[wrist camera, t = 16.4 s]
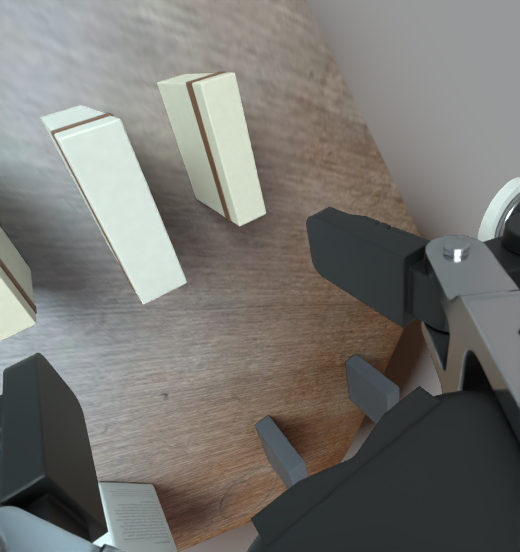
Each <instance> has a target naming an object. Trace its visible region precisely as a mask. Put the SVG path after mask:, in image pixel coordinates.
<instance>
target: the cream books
mask: <svg viewBox="0 0 520 552" xmlns="http://www.w3.org/2000/svg"><path fill="white" fill-rule="evenodd" d="M157 84H158V87H159V90H160V93H161V96H162V99H163V102H164V105H165V108H166V111H167V114H168V117H169V120H170V123H171V126H172V129H173V132H174V135H175V138H176V141H177V144H178V147H179V150H180V153H181V156H182V159H183V162H184V164H185V167H186V170H187V173H188V176H189V179H190V182H191V185H192V188H193V191H194V194H195V197H196V199H198V200H199V201H201V202H202V203H204V204H205V205H207V206H209V207H210V208H212V209H213V210H215V211H216V212H218V213H219V214H221V215H223V216H224V217H225V218H226V219H227V220H228V221H230V222H234V223H235V224H237V225H238V226H242V225H244V224H246V223H248V222H250V221H252V220H254V219H256V218H259V217H261V216H263V215H265V214H266V210H265V205H264V201H263V196H262V192H261V188H260V183H259V179H258V174H257V170H256V165H255V161H254V156H253V152H252V147H251V143H250V138H249V134H248V129H247V125H246V120H245V116H244V111H243V107H242V102H241V98H240V93H239V89H238V84H237V80H236V76H235V73H226V72H217V73H205V74H183V75H180V76H177V77H173V78H170V79H167V80H164V81H160V82H158V83H157ZM36 313H37V311H36V306H35V305H34V296H33V287H32V278H31V269H30V268H29V266H28V265H27V264H26V262H25V261H24V259H23V258H22V256H21V255H20V254H19V252H18V251H17V249H16V248H15V246H14V245H13V244H12V242H11V241H10V239H9V238H8V236H7V235H6V234H5V232H4V231H3V229H2V228H1V226H0V341H2V340H4V339H6V338H8V337H10V336H13V335H15V334H17V333H19V332H21V331H23V330H25V329H27V328H29V327H31V326H33V325H36V324H37V323H36Z"/></svg>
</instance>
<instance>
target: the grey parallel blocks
mask: <svg viewBox="0 0 520 552" xmlns="http://www.w3.org/2000/svg"><path fill="white" fill-rule="evenodd" d="M345 363H346V372H347V380H348V389H349V398H350V400H351V401H352V402H353V403H354V404H355V405H357V406H358V407H359V408H360V409H361V410H362V411H363V412H364V413H365V414H366V415H367V416H368V417H370V419H371V420H373V421H374V422H375V423H376V424H377V423H378V422H379V420H380V419H381V417H382V416H383V414H384V413H386V412H387V411H388V410H389V409H391V408H392V407H393V406H395V405H396V404H397V403H398V402H399V387H398V386H396V385H395V384H394V383H393V382H391V381H390V380H389V379H388V378H386V377H385V376H384V375H383V374H381V373H380V372H379V371H377V370H376V369H375V368H374V367H372V366H371V365H370V364H369V363H367V362H366V361H365V360H364V359H362V358H361V357H360V356H358V355H357V354H356V355H354V356H353V357H352V358H350V359H349V360H347V361H346V362H345ZM255 427H256V430H257V432H258V435H259V437H260V440H261V443H262V445H263V448H264V450H265V453H266V456H267V458H268V460H269V462H270V463H271V465H272V466H273V468H274V469H275V471H276V472H277V474H278V475H279V477H280V478H281V480H282V481H283V483H284V484H285V485H286V487H287V488H288V489H289V488H290V487H292V486H293V485H294V484H295V483H297V482H298V481H300V480H302V479H305V478H307V477H308V474H307V470H306V467H305V463H304V460H303V459H302V458H301V457H300V455H299V454H298V453H297V451H296V450H295V449H294V447H293V446H292V445H291V444H290V442H289V441H288V440H287V438H286V437H285V436H284V435H283V433H282V432H281V431H280V429H279V428H278V427H277V425H276V424H275V423H274V422H273V420H272V419H271V418H270V416H269V415H268V416H267V417H265V418H264V419H263V420H261V421H260V422H258V423H257V424H255Z"/></svg>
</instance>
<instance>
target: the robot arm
mask: <svg viewBox="0 0 520 552" xmlns="http://www.w3.org/2000/svg"><path fill="white" fill-rule="evenodd" d="M306 225H307V232H308V238H309V245H310V251H311V257H312V262H313V265H314V267H315V269H316V270H317V272H318V273H319V274H320V275H321V276H322V277H324V278H325V279H327V280H328V281H330V282H331V283H333V284H335V285H336V286H338V287H339V288H341V289H343V290H344V291H346V292H347V293H349V294H350V295H352V296H354V297H355V298H357V299H358V300H360V301H361V302H363V303H365V304H366V305H368V306H369V307H371V308H373V309H374V310H376V311H377V312H379V313H380V314H382V315H384V316H385V317H387V318H388V319H390V320H392V321H393V322H395V323H396V324H398V325H399V326H401V327H403V328H404V327H405V326H406V325H408V324H409V323H411V322H412V321H414V320H415V319H416V318H418V319H420V320H421V321H422V328H421V329H422V332H423V335H424V338H425V341H426V344H427V346H428V349H429V352H430V355H431V358H432V360H433V363H434V366H435V369H436V371H437V374H438V377H439V380H440V383H441V388H442V394H441V395H437V396H434V397H433V396H432V395H431V394H429V393H428V392H427V391H425V390H424V389H422V388H421V387H420V386H419V387H417V388H416V389H415V390H414V391H412V392H411V393H410V394H409V395H407V396H406V397H405V398H403V399H402V400H401V401H400V402H398V403H397V404H396V405H395V406H393V407H392V408H391V409H389V410H388V411H387V412H386V413H384V414H383V416H382V417H381V419H380V420H379V422H378V423H377V424H376V426H375V427H374V429H373V430H372V432H371V433H370V435H369V436H368V438H367V439H366V441H365V442H364V443H363V445H362V446H361V448H360V449H359V451H358V452H357V454H356V455H355V456H354V457H352V458H351V459H349V460H347V461H345V462H342V463H340V464H337V465H335V466H333V467H330V468H328V469H326V470H323V471H321V472H319V473H316V474H314V475H312V476H309V477H307V478H305V479H302V480H300V481H298V482H297V483H295V484H294V485H293V486H292V487H290V488H289V489H288V490H287V491H285V492H284V493H283V494H281V495H280V496H279V497H278V498H276V499H275V500H274V501H273V502H271V503H270V504H269V505H267V506H266V507H265V508H264V509H262V510H261V511H260V512H259V513H257V514H256V515H255V516H254V517H252V518H251V520H252V522H253V524H254V526H255V527H256V529H257V531H258V533H259V535H258V536H257V537H256V539H255V540H254V542H253V543H252V544H251V546H250V547H249V549H248V551H247V552H520V193H518V194H517V195H516V196H515V197H514V198H513V199H512V200H511V202H510V203H509V204H508V206H507V207H506V209H505V210H504V212H503V214H502V216H501V218H500V220H499V222H498V225H497V228H496V231H495V236H494V239H490V240H487V241H484V242H482V241H480V240H478V239H475V238H473V237H469V236H463V235H447V236H442V237H438V238H436V239H434V240H432V241H429V240H426V239H424V238H421V237H419V236H416V235H414V234H411V233H408V232H406V231H403V230H400V229H398V228H395V227H392V228H391V226H390V225H387V224H385V223H380V222H379V221H377V220H374V219H372V218H369V217H367V216H360V215H351V214H347V213H344V212H342V211H339V210H337V209H334V208H331V207H328V208H326V209H324V210H322V211H320V212H318V213H316V214H314V215H312V216H310V217H309V218H308V219H307V222H306ZM107 532H108V528H107V523H106V518H105V513H104V509H103V504H102V499H101V494H100V490H99V485H98V480H97V476H96V471H95V466H94V461H93V457H92V452H91V447H90V443H89V438H88V433H87V428H86V424H85V419H84V414H83V411H82V408H81V406H80V404H79V402H78V400H77V398H76V396H75V395H74V393H73V392H72V390H71V389H70V388H69V387H68V385H67V384H66V383H65V382H64V381H63V379H62V378H61V377H60V376H59V374H58V373H57V372H56V371H55V369H54V368H53V367H52V366H51V364H50V363H49V362H48V361H47V359H46V358H45V357H44V356H43V355H42V354H40V353H36V354H34V355H32V356H30V357H28V358H26V359H24V360H22V361H20V362H18V363H16V364H14V365H12V366H10V367H8V368H6V369H5V370H4V373H3V394H2V395H0V552H125V551H123V550H121V549H118V548H116V547H114V546H111V545H108V544H103V546H102V547H100V546H97V545H95V544H93V542H95V541H96V540H97V539H99V538H100V537H102V536H103V535H105V534H106V533H107Z"/></svg>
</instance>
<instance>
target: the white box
mask: <svg viewBox="0 0 520 552" xmlns="http://www.w3.org/2000/svg"><path fill="white" fill-rule="evenodd" d="M41 120H42V122H43V124H44V126H45V128H46V129H47V131H48V133H49V135H50V137H51V139H52V141H53V143H54V145H55V147H56V148H57V150H58V152H59V154H60V156H61V158H62V160H63V162H64V164H65V166H66V167H67V169H68V171H69V173H70V175H71V177H72V179H73V181H74V183H75V185H76V186H77V188H78V190H79V192H80V194H81V196H82V198H83V200H84V202H85V203H86V205H87V207H88V209H89V211H90V213H91V215H92V217H93V219H94V221H95V222H96V224H97V226H98V228H99V230H100V232H101V234H102V236H103V238H104V239H105V241H106V243H107V244H108V246H109V248H110V249H111V251H112V253H113V255H114V256H115V258H116V260H117V261H118V263H119V265H120V266H121V268H122V270H123V272H124V274H125V276H126V278H127V280H128V281H129V283H130V285H131V287H132V289H133V290H134V291H135V292H136V293H137V295H138V297H139V298H140V300H141V302H142V303H143V304H147V303H149V302H150V301H152V300H154V299H156V298H158V297H160V296H162V295H164V294H166V293H168V292H170V291H172V290H174V289H176V288H178V287H180V286H182V285H184V284H186V283H187V280H186V277H185V275H184V272H183V270H182V268H181V265H180V263H179V260H178V258H177V255H176V253H175V250H174V248H173V245H172V243H171V241H170V238H169V236H168V233H167V231H166V228H165V226H164V223H163V221H162V218H161V216H160V214H159V211H158V209H157V206H156V204H155V201H154V199H153V196H152V194H151V191H150V189H149V187H148V184H147V182H146V179H145V177H144V174H143V172H142V169H141V167H140V165H139V162H138V160H137V157H136V155H135V152H134V150H133V147H132V145H131V142H130V140H129V138H128V135H127V133H126V130H125V128H124V125H123V123H122V120H121V119H119V118H116V117H114V116H113V114H111V113H106V114H105V113H102V112H99V111H97V110H94V109H91V108H88V107H85V106H83V105H80V106H77V107H73V108H70V109H67V110H63V111H60V112H57V113H53V114H50V115H47V116H43V117H41Z"/></svg>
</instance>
